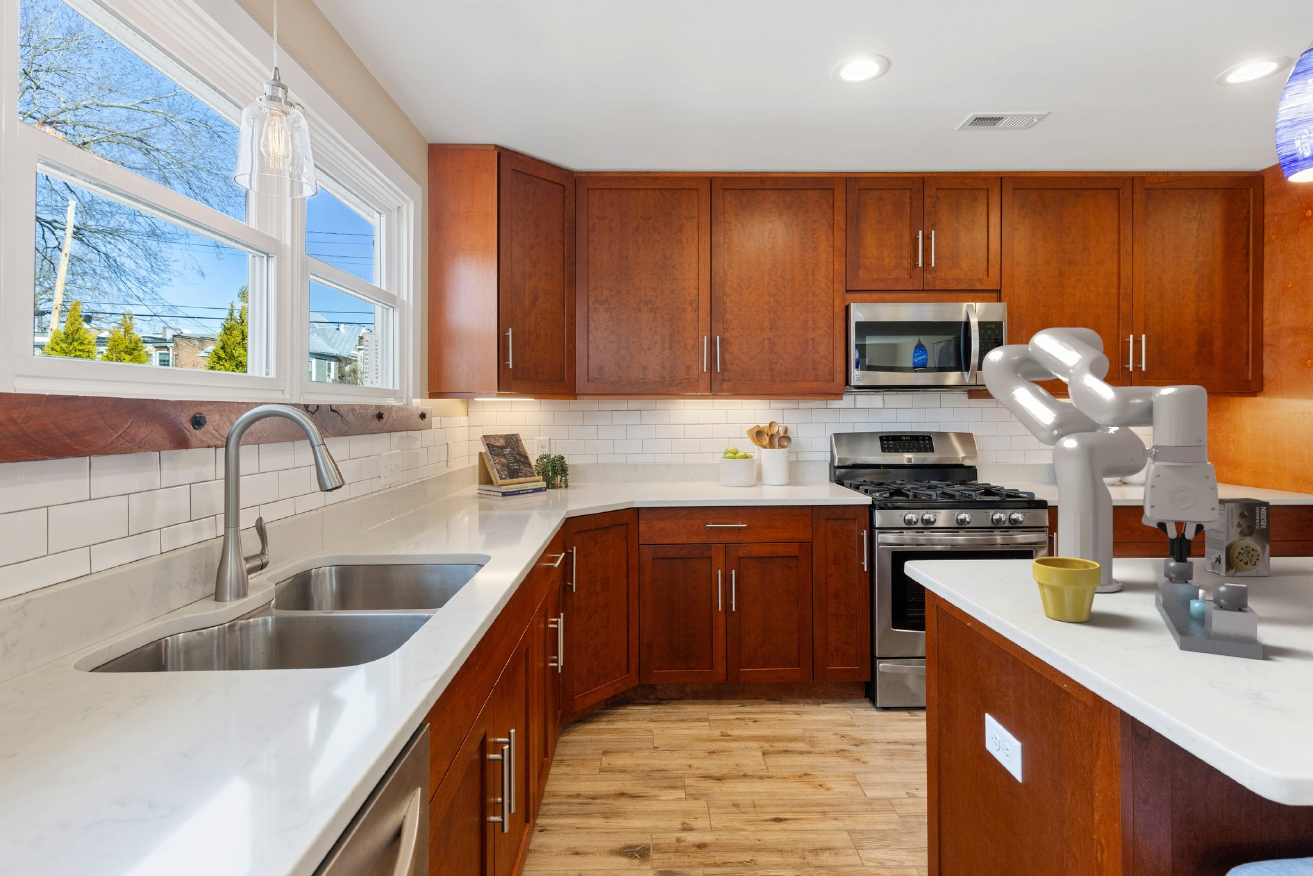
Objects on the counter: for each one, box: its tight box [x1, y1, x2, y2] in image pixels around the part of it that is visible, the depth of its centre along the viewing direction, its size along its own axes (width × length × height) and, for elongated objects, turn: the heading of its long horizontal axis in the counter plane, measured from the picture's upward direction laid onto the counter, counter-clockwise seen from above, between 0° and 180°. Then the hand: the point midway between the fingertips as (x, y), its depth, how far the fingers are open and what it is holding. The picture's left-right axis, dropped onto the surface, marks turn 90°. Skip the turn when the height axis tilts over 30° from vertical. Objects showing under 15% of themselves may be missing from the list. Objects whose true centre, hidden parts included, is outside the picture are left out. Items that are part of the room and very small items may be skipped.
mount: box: [1154, 575, 1264, 661], centre depth 111 cm, size 10×26×6 cm, turn 150°
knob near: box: [1212, 581, 1249, 610], centre depth 103 cm, size 4×4×7 cm
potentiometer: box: [1190, 588, 1206, 620], centre depth 111 cm, size 3×3×4 cm
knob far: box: [1163, 557, 1194, 583], centre depth 118 cm, size 4×4×7 cm
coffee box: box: [1204, 497, 1271, 577], centre depth 146 cm, size 9×6×16 cm
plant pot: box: [1031, 556, 1101, 623], centre depth 118 cm, size 10×10×10 cm
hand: (1179, 559), depth 118 cm, fingers closed
